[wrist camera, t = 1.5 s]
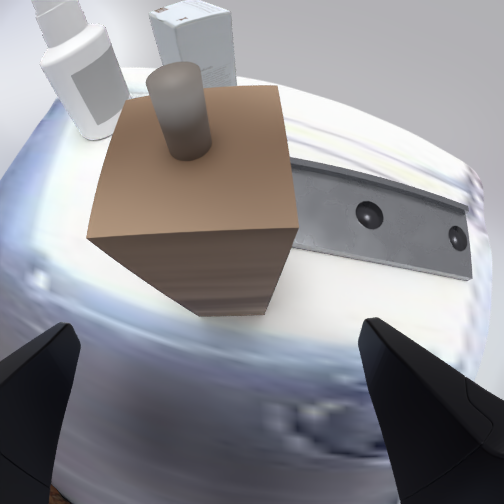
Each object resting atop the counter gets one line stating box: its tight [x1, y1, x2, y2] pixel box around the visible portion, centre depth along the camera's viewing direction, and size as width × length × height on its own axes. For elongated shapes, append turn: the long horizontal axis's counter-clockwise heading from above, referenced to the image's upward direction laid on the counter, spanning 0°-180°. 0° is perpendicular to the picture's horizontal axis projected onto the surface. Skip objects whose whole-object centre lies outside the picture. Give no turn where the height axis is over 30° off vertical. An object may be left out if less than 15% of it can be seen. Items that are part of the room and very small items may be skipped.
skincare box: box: [149, 0, 237, 88], centre depth 19 cm, size 6×4×12 cm
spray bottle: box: [32, 0, 132, 140], centre depth 16 cm, size 7×7×18 cm
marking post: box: [86, 62, 299, 316], centre depth 12 cm, size 4×4×16 cm
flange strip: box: [290, 157, 472, 281], centre depth 20 cm, size 22×7×1 cm, turn 79°
